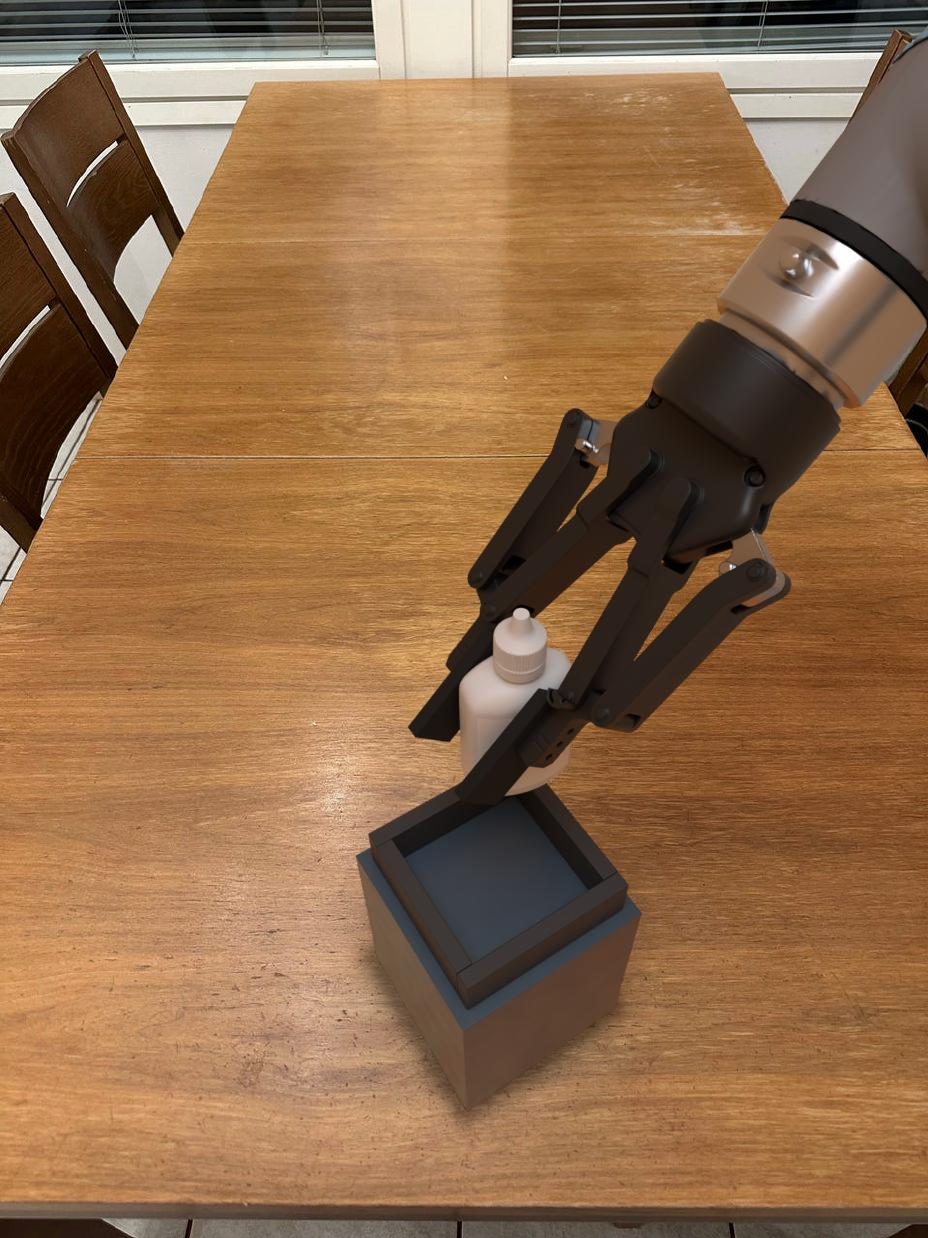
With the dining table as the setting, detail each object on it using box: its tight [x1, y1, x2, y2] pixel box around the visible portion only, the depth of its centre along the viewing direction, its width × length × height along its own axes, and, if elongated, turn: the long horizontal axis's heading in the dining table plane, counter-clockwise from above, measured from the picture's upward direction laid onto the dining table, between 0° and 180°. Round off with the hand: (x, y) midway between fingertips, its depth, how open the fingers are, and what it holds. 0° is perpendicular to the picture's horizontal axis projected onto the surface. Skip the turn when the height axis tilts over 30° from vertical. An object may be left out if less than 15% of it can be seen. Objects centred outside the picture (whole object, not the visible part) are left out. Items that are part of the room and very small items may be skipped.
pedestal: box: [355, 782, 643, 1112], centre depth 59 cm, size 12×12×18 cm
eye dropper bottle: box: [459, 608, 574, 796], centre depth 45 cm, size 4×6×12 cm
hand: (452, 764), depth 46 cm, fingers closed on eye dropper bottle, 4 cm apart
